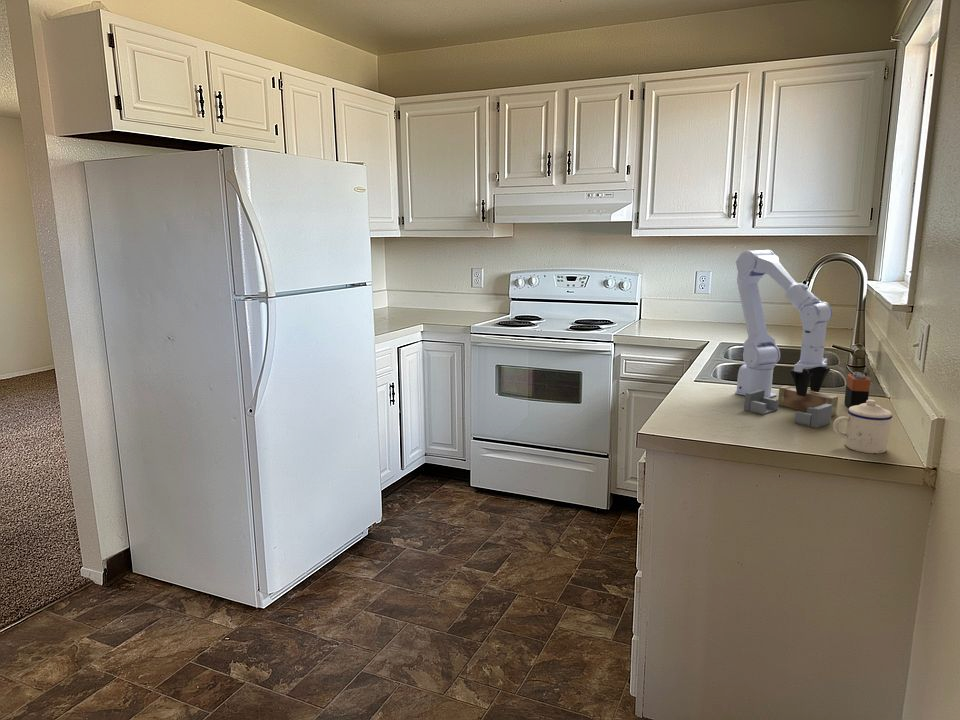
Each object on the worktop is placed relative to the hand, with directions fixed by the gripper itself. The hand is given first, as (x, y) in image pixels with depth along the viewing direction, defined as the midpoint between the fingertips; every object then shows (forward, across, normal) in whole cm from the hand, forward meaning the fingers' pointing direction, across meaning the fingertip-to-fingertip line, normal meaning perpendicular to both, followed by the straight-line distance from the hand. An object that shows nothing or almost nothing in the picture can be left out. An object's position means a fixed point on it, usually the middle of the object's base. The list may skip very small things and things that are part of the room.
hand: (808, 393), depth 186 cm
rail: (+5, 0, 0) cm, 5 cm away
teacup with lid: (+5, -21, -23) cm, 32 cm away
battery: (+5, +13, -7) cm, 16 cm away
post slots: (+5, -11, 0) cm, 12 cm away
